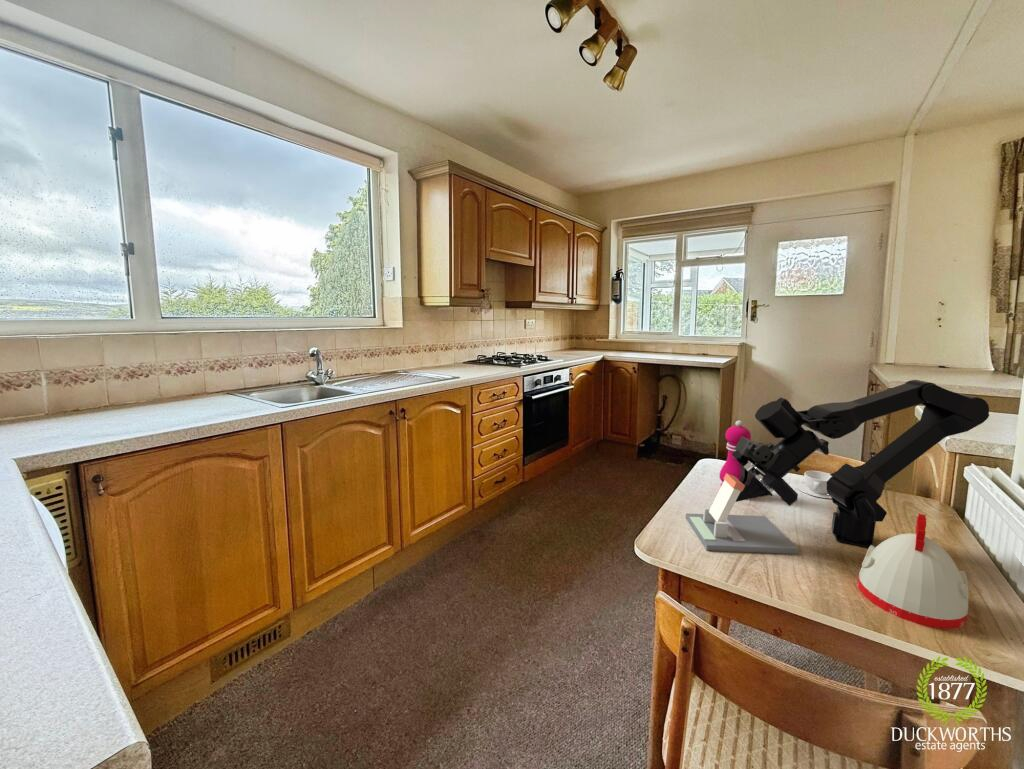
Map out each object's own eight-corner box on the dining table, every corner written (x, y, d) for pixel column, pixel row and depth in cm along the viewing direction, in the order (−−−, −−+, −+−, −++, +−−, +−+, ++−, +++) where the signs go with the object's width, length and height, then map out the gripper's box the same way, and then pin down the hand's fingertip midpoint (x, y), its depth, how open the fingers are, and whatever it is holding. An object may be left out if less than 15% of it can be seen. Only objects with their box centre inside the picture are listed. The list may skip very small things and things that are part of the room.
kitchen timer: (962, 597, 76) (978, 517, 73) (970, 642, 66) (989, 551, 63) (860, 566, 85) (871, 493, 82) (853, 602, 75) (866, 520, 72)
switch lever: (715, 514, 99) (734, 476, 97) (724, 525, 94) (745, 485, 92) (707, 510, 99) (726, 473, 97) (716, 522, 94) (736, 482, 92)
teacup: (801, 481, 126) (803, 466, 125) (844, 491, 119) (847, 475, 118) (792, 492, 119) (794, 475, 118) (837, 503, 112) (840, 486, 111)
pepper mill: (745, 500, 114) (752, 425, 110) (715, 493, 118) (721, 421, 114) (750, 491, 119) (757, 419, 116) (721, 484, 124) (727, 415, 120)
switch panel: (764, 520, 103) (766, 503, 102) (797, 553, 89) (800, 533, 88) (685, 518, 104) (686, 500, 104) (706, 550, 91) (708, 530, 90)
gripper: (743, 415, 101) (691, 460, 104) (787, 439, 83) (722, 493, 86) (776, 448, 102) (723, 492, 105) (826, 479, 84) (760, 531, 87)
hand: (730, 500), depth 96 cm, fingers closed, pressing on switch lever
